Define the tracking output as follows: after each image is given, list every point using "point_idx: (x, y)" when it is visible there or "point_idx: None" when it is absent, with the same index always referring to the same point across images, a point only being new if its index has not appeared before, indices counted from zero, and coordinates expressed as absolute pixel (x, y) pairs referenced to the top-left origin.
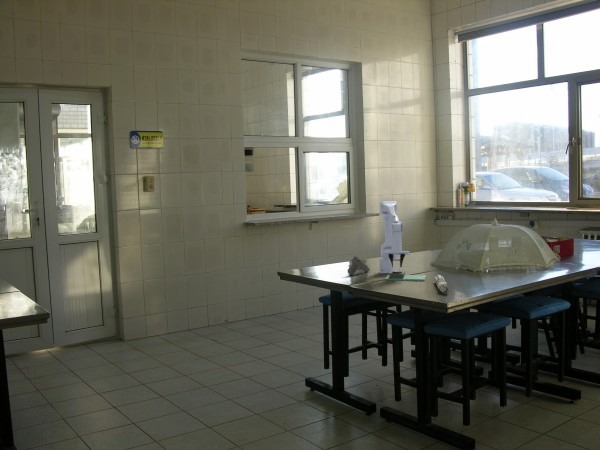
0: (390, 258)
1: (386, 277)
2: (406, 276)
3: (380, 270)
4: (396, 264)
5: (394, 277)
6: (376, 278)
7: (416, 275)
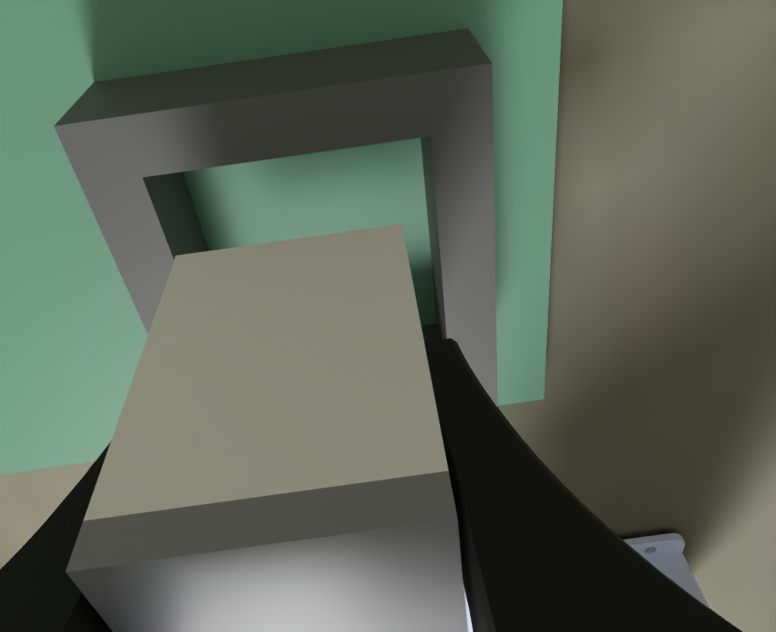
0: (615, 579)
1: (550, 98)
2: (142, 323)
3: (686, 579)
4: (275, 361)
5: (326, 52)
6: (770, 130)
7: (18, 448)
